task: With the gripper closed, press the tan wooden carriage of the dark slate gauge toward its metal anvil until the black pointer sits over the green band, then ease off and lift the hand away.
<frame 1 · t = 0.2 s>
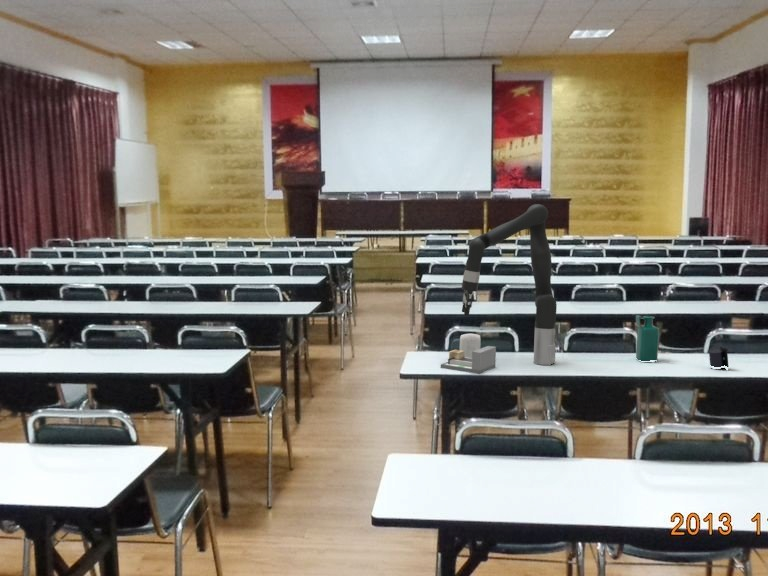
hand: (465, 313, 337), 23 cm above the table, tool pointing down, fingers open, 8 cm apart
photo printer: (469, 359, 345), on the table
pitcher: (645, 361, 344), on the table
speaker: (717, 369, 328), on the table
gauge carriage: (454, 357, 327), point 4 cm above the table, slide at 0.0 cm
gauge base: (468, 367, 327), on the table
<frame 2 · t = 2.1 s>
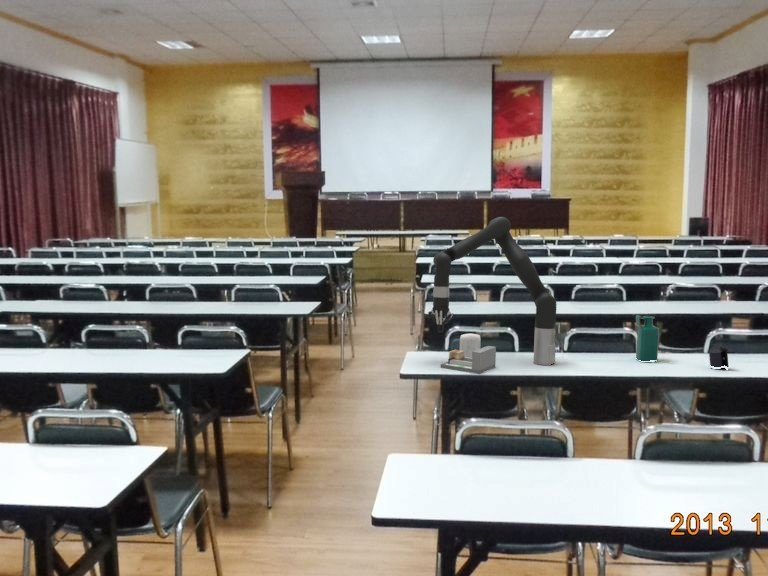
hand: (440, 332, 333), 15 cm above the table, tool pointing down, fingers closed
nothing on the table moved.
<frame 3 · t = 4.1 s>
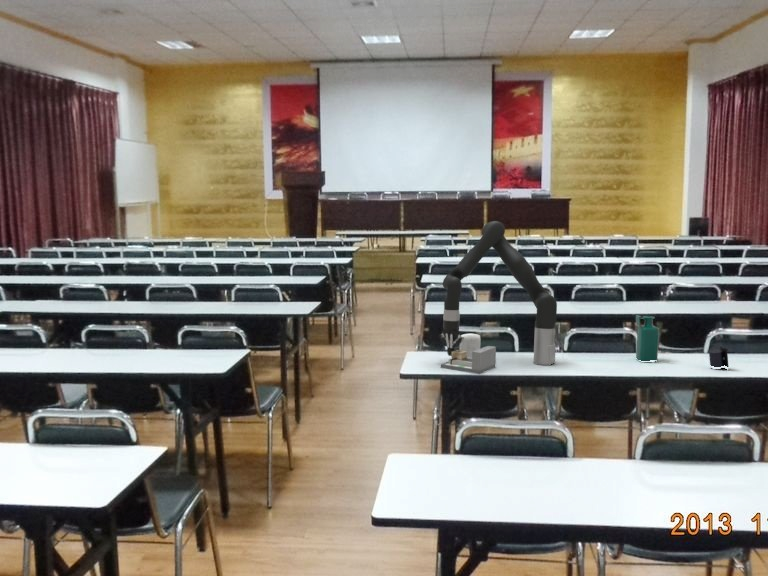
hand: (450, 355, 332), 4 cm above the table, tool pointing down, fingers closed
gauge carriage: (456, 357, 327), point 4 cm above the table, slide at 1.2 cm, touching gripper
everything else where it was.
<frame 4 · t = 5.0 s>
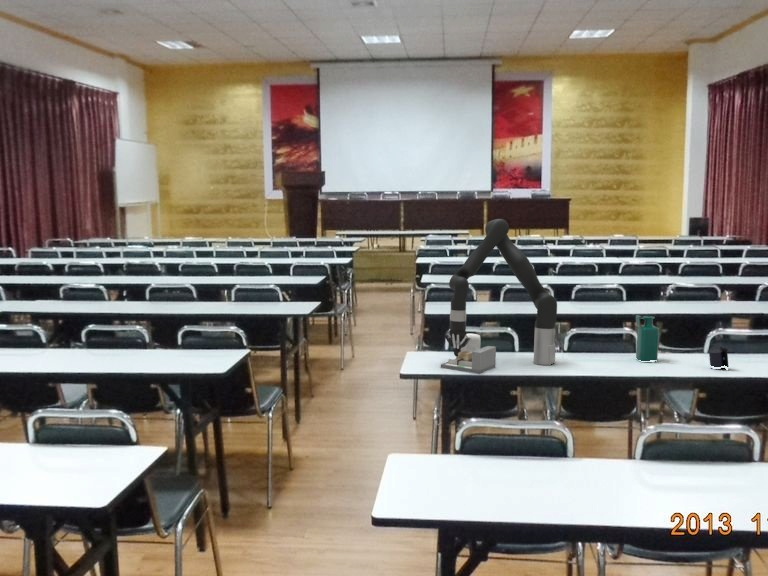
hand: (457, 356, 329), 4 cm above the table, tool pointing down, fingers closed
gauge carriage: (463, 358, 325), point 4 cm above the table, slide at 4.6 cm, touching gripper
everything else where it was.
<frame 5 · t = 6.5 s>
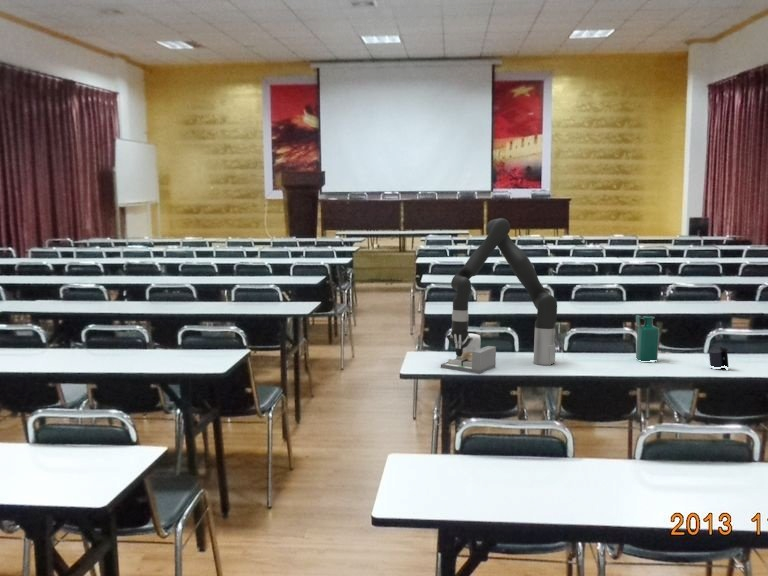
hand: (459, 356, 328), 5 cm above the table, tool pointing down, fingers closed
gauge carriage: (467, 359, 324), point 4 cm above the table, slide at 6.8 cm
everything else where it was.
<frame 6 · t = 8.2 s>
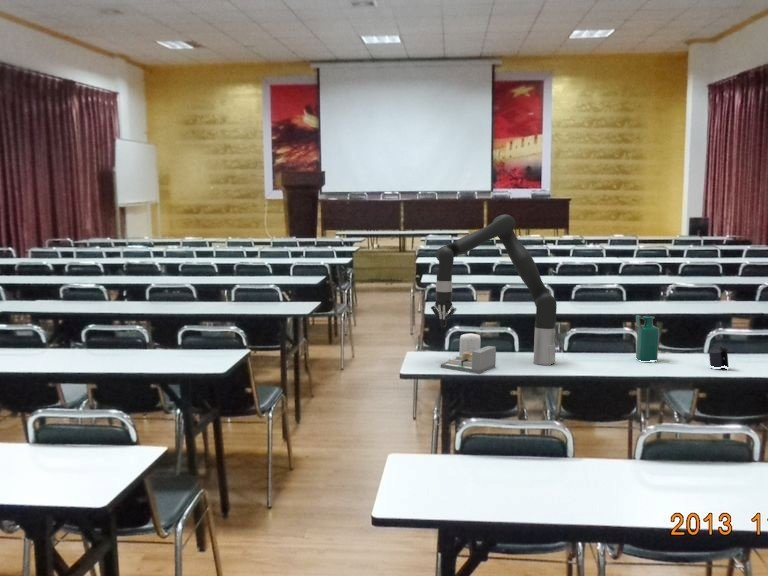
hand: (443, 326, 332), 17 cm above the table, tool pointing down, fingers closed
nothing on the table moved.
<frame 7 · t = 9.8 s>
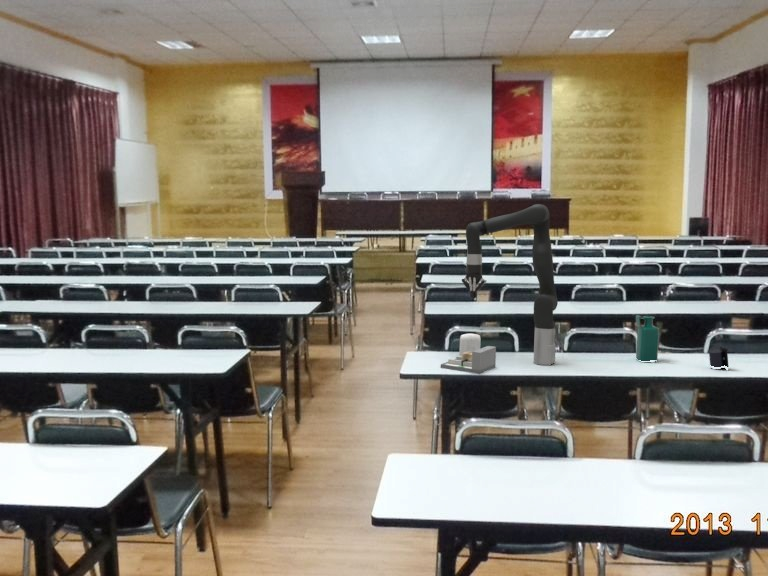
hand: (473, 298, 348), 29 cm above the table, tool pointing down, fingers closed
nothing on the table moved.
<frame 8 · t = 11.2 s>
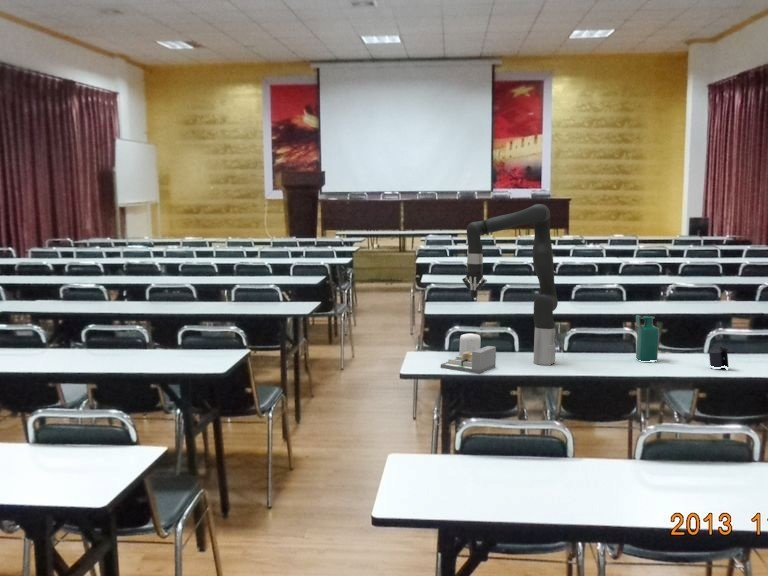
hand: (474, 297, 348), 29 cm above the table, tool pointing down, fingers closed
nothing on the table moved.
at the end: gauge carriage slide at 6.8 cm; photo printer moved 0.3 cm from its start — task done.
